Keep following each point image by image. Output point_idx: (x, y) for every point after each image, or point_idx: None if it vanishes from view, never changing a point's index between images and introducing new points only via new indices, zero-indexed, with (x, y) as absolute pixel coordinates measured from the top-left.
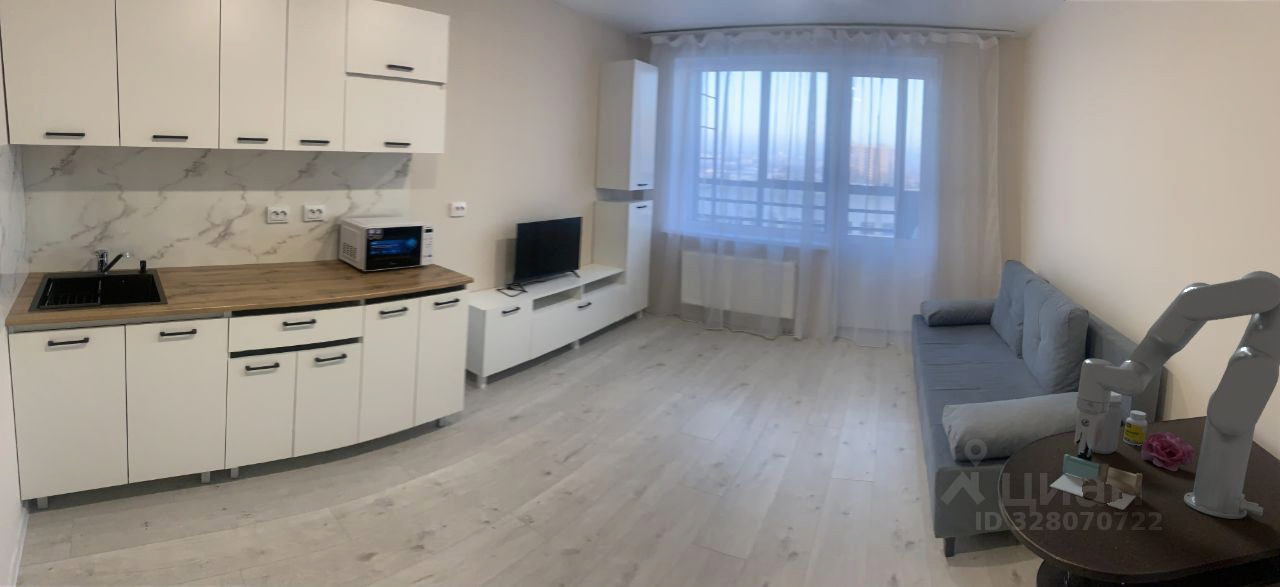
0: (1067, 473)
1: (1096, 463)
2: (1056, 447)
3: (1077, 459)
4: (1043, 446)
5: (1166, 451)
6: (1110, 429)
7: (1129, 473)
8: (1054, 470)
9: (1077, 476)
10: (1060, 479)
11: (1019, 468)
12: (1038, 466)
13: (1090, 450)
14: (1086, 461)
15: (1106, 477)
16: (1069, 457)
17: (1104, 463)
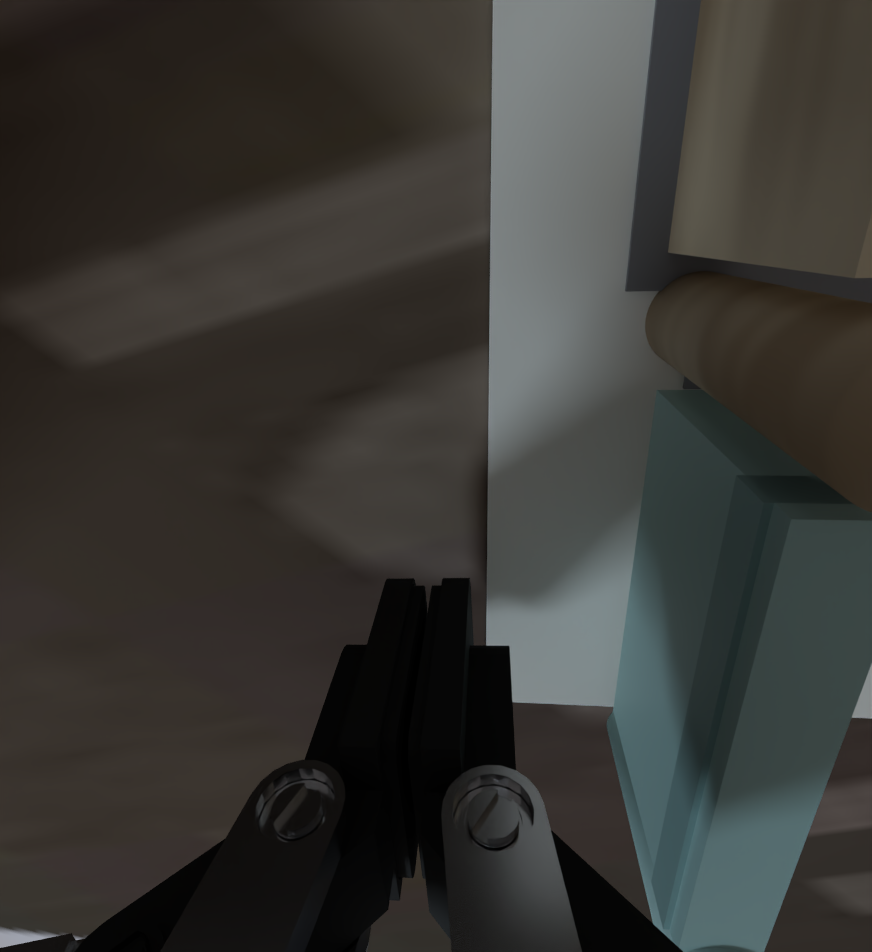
0: (611, 692)
1: (786, 599)
2: (12, 858)
3: (789, 865)
4: (99, 914)
5: None
6: None
7: None
8: (586, 776)
9: (618, 605)
10: (869, 701)
11: (774, 945)
12: (596, 871)
13: (500, 949)
14: (805, 755)
15: (757, 283)
16: (757, 942)
17: (837, 461)
